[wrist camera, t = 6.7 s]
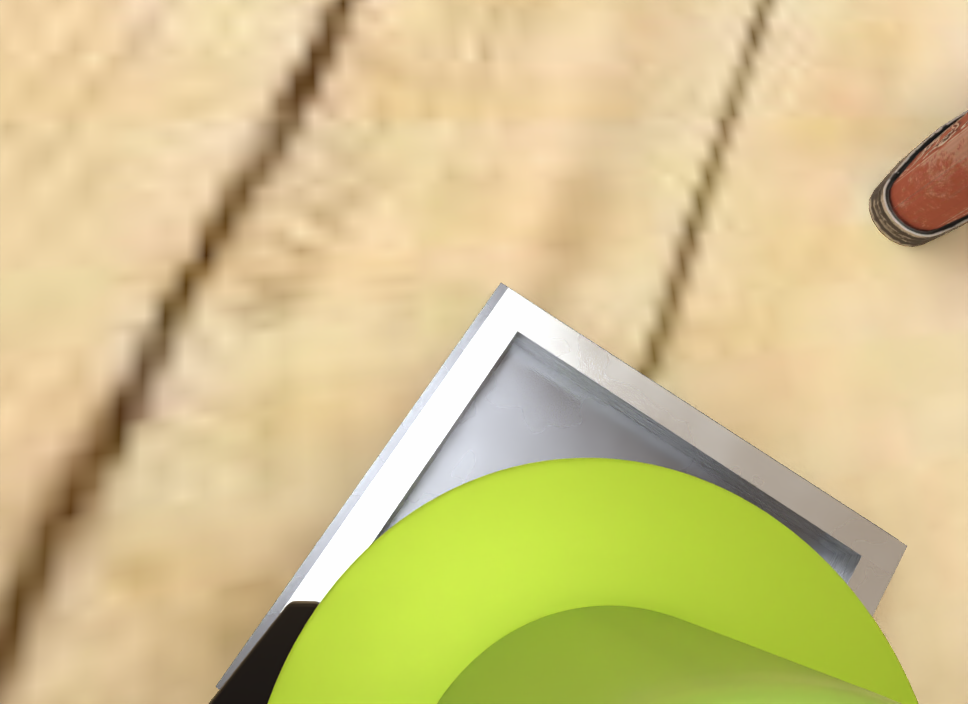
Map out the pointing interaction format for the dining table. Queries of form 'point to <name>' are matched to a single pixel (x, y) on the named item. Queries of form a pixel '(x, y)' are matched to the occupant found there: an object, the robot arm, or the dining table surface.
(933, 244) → the dining table surface
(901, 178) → the lighter
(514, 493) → the soap dispenser
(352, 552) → the holder
